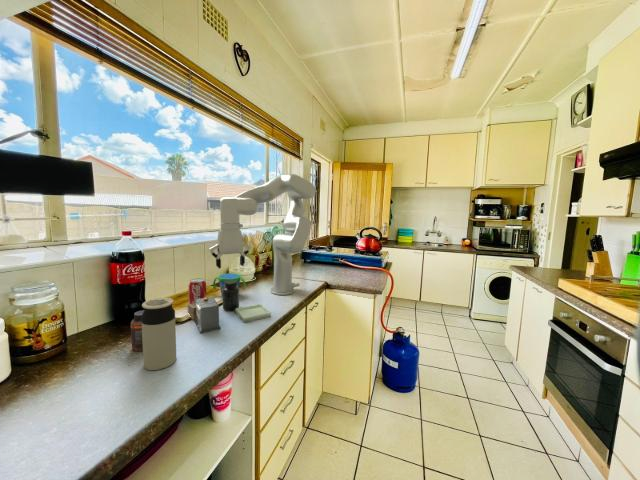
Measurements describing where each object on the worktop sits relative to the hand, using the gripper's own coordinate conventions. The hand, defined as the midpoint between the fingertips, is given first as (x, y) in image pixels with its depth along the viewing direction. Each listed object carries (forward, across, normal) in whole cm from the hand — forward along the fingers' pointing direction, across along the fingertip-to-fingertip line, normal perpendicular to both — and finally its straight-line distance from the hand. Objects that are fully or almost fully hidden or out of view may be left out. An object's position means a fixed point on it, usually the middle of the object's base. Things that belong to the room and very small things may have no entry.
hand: (230, 266), depth 111 cm
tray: (+19, -6, +11) cm, 23 cm away
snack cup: (+19, -4, -17) cm, 26 cm away
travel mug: (+19, +28, +30) cm, 45 cm away
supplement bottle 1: (+19, +32, +18) cm, 41 cm away
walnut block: (+19, +14, +2) cm, 24 cm away
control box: (+19, +12, +12) cm, 25 cm away
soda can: (+19, +12, -9) cm, 24 cm away
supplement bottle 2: (+19, 0, 0) cm, 19 cm away
